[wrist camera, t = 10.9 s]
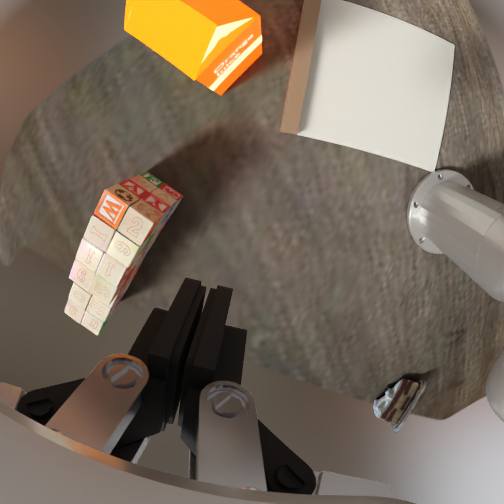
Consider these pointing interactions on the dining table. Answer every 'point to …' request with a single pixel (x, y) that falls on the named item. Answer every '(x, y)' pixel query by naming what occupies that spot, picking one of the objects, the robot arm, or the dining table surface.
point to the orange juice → (199, 36)
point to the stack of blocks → (117, 246)
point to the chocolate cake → (399, 402)
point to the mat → (368, 83)
